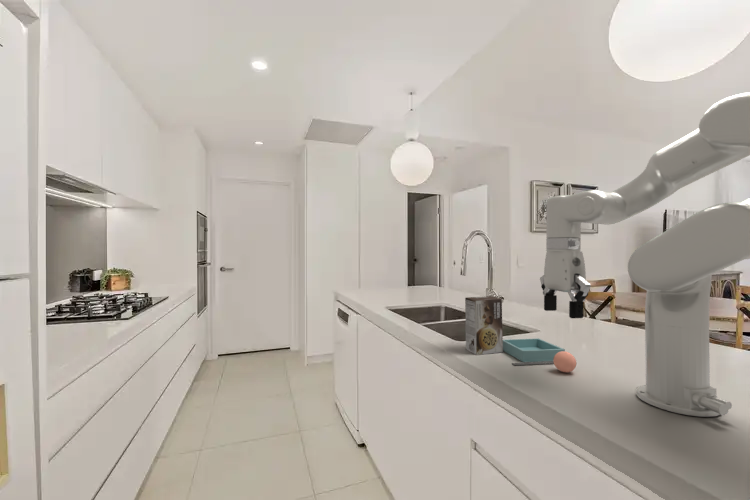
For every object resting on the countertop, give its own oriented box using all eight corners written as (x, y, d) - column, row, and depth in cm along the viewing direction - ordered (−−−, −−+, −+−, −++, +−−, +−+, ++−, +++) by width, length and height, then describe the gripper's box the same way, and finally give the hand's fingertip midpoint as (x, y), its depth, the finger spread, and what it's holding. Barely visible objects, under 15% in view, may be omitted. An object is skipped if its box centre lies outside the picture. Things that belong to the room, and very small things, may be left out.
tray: (564, 360, 94) (564, 349, 94) (523, 362, 93) (523, 351, 93) (538, 348, 106) (538, 338, 106) (501, 349, 105) (501, 339, 105)
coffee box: (490, 347, 108) (490, 295, 108) (503, 352, 102) (503, 298, 102) (464, 349, 105) (464, 296, 106) (476, 355, 99) (475, 299, 99)
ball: (581, 374, 83) (581, 354, 83) (562, 375, 82) (561, 355, 82) (567, 368, 88) (567, 348, 88) (549, 368, 87) (549, 349, 87)
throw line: (571, 363, 91) (571, 362, 91) (514, 366, 90) (514, 364, 90) (567, 361, 93) (567, 360, 93) (511, 364, 91) (511, 363, 91)
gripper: (603, 245, 77) (603, 321, 77) (554, 245, 94) (554, 307, 95) (573, 245, 76) (572, 321, 76) (529, 245, 94) (528, 308, 94)
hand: (562, 314), depth 86 cm, fingers open, 9 cm apart
